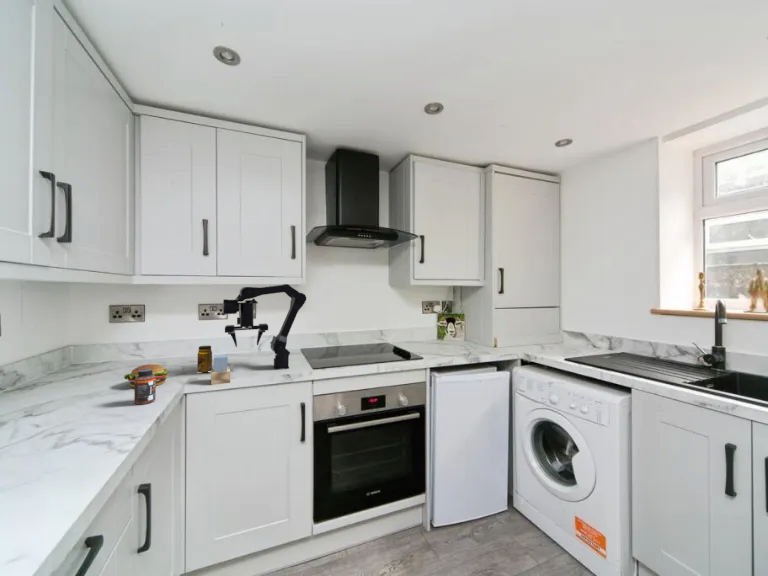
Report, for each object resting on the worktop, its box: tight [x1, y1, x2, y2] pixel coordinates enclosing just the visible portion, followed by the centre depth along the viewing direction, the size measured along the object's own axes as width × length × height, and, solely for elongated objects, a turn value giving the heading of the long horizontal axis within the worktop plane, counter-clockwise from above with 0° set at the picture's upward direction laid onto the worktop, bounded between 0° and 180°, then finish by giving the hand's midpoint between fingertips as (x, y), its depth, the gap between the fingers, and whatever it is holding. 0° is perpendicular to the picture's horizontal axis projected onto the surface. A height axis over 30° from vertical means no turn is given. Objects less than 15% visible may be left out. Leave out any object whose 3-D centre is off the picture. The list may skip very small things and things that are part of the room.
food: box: [123, 363, 169, 389], centre depth 132 cm, size 14×14×8 cm
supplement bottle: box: [133, 369, 157, 406], centre depth 112 cm, size 6×6×11 cm
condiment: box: [196, 345, 213, 372], centre depth 153 cm, size 7×8×12 cm
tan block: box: [210, 367, 231, 386], centre depth 136 cm, size 7×7×5 cm
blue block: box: [213, 354, 228, 372], centre depth 136 cm, size 5×5×6 cm
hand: (247, 346), depth 152 cm, fingers open, 9 cm apart
